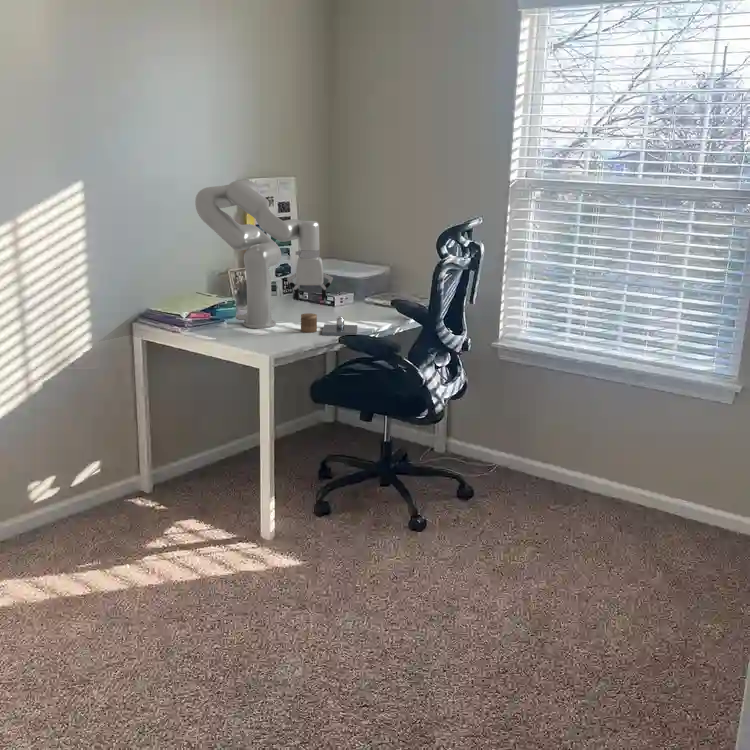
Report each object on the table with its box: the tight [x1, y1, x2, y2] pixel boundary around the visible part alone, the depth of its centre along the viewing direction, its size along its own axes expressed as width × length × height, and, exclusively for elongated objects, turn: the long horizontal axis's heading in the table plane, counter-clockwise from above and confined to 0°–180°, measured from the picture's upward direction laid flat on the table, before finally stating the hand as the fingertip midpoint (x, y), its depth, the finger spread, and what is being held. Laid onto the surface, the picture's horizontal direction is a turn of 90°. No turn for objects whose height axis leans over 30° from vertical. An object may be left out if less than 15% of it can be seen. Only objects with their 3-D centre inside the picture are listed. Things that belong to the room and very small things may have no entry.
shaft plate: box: [321, 315, 358, 337], centre depth 316 cm, size 13×13×6 cm
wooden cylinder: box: [300, 312, 318, 334], centre depth 316 cm, size 6×6×6 cm
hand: (310, 299), depth 313 cm, fingers open, 9 cm apart
